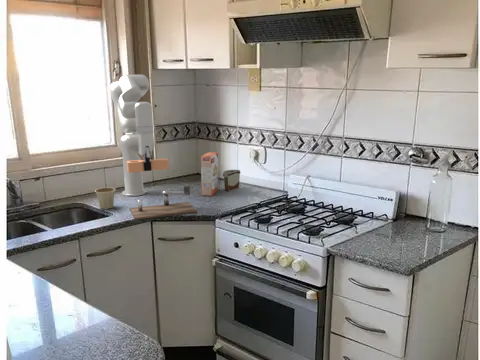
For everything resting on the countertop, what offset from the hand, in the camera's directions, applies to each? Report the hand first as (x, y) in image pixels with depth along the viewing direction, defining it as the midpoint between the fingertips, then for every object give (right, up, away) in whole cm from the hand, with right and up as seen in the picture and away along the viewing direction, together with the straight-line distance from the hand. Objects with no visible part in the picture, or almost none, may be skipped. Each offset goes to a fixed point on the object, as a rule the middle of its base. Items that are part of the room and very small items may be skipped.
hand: (147, 169), depth 217 cm
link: (0, 0, 0) cm, 1 cm away
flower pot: (-21, -18, +8) cm, 29 cm away
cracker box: (+27, -12, +33) cm, 44 cm away
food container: (+37, -10, +41) cm, 56 cm away
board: (+7, -19, 0) cm, 21 cm away
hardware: (+3, -18, +3) cm, 18 cm away
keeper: (+13, -12, +6) cm, 18 cm away
